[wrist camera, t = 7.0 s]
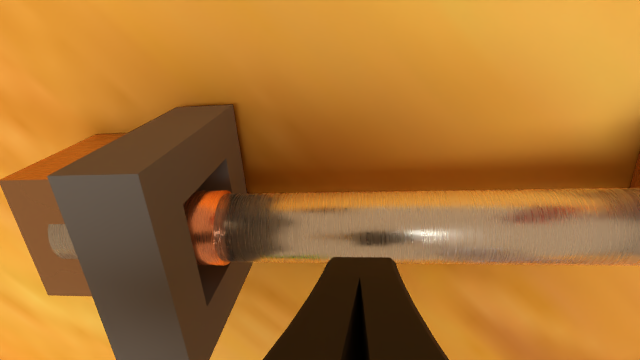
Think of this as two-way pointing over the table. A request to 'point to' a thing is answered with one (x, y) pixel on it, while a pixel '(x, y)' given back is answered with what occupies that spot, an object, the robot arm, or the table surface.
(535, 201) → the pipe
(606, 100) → the table surface
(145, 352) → the collar
